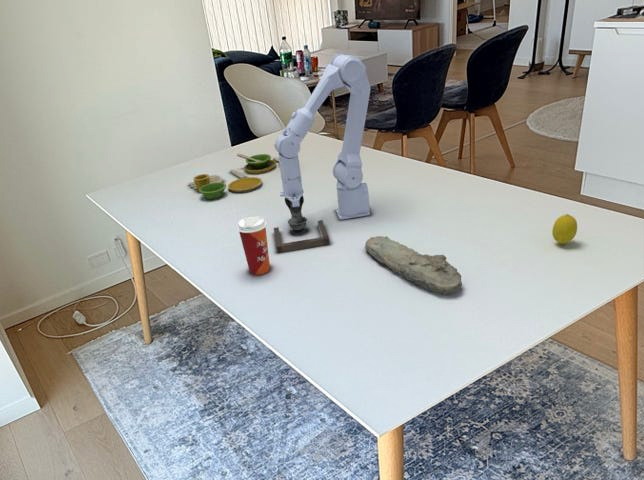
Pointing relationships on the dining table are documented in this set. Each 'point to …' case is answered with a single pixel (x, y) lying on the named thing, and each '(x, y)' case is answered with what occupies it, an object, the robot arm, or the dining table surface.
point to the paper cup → (255, 244)
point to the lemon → (564, 229)
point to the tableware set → (256, 164)
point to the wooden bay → (303, 243)
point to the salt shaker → (297, 220)
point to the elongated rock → (416, 265)
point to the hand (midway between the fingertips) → (296, 220)
